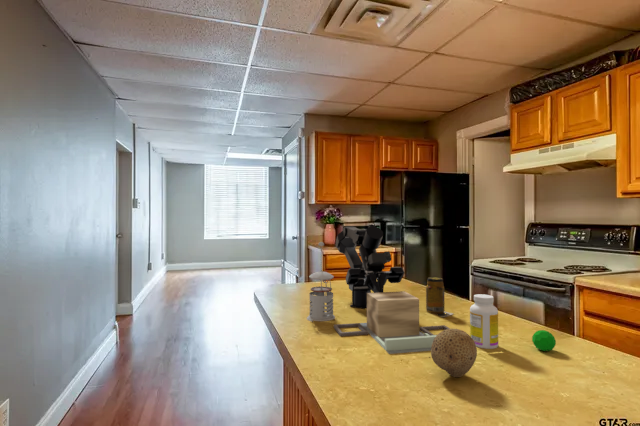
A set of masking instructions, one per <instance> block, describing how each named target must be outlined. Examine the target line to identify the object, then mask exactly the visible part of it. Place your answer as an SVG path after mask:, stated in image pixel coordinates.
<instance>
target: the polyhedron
mask: <svg viewBox="0 0 640 426" xmlns="http://www.w3.org/2000/svg"><path fill="white" fill-rule="evenodd" d="M531 339H532V340H531V341H532V343H533V345H534V346H535V348H536V349H538V350H539V351H543V352H550V351H552V350H553V349H554V348H555V346H556V344H557V340H556V338H555V336H554V335H553V334H552V332H549V331H547V330H544V329H540V330H536V331H535V332H534V333H533V335H532V337H531Z"/></svg>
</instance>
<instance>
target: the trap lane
mask: <svg viewBox="0 0 640 426" xmlns="http://www.w3.org/2000/svg"><path fill="white" fill-rule="evenodd" d="M345 328H347V329H348V328H358V329H359V330H356V331H342V330H341V329H345ZM333 329H334V330H335V332H336V333H337V334H338V335H339V337H349V336H363V335H364V336H366V335H368V334H369V336H370V337H371V338H372V339H374V340H375V342H376V343H377V344H378V345H379V346H380V347H381V348H383V350H385V351H386V353H387V354H388V355H390V354H391V355H393V354H405V353H407V354H408V353H416V352H417V353H420V352H431V346H432V343H433V340H434V338H435V337H436V336H437V335H438V334H435V333H432V332H431V331H436V330H437V331H438V330H443V331H444V330H446V329H451V328H450V327H448V326H447V325H446V324H443V325H442V324H441V325H428V326H426V325H425V326H419V335H406V336H392V337H377V336H376V335H375V334H374V333H373V332H372V331H371V330H370V329H369V328H368V327H367V322H355V323H338V324H333Z"/></svg>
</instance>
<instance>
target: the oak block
mask: <svg viewBox="0 0 640 426" xmlns="http://www.w3.org/2000/svg"><path fill="white" fill-rule="evenodd" d="M366 323H367V327H368V328H369V329H370V330H371V331H372V332H373V333H374V334H375V335H376V336H377V337H392V336H406V335H419V331H420V330H419V327H420V298H418V297H416V296H415V295H413V294H411V293H409V292H407V291H383V292H378V293H374V292H371V293H367V308H366Z"/></svg>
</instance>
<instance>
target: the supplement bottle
mask: <svg viewBox="0 0 640 426" xmlns="http://www.w3.org/2000/svg"><path fill="white" fill-rule="evenodd" d="M473 301H474V304H471V306H470V307H469V330H470V331H469V336H470V337H471V338H472V339H473V340H474V342H475V344H476V348H480V349H487V350H488V349H489V350H490V349H491V350H493V349H496V348H497V349H498V347H499V311H498V308H497V307H496V306H495V305H494V301H495V300H494V296H493V295H489V294H484V293H483V294H481V293H480V294H479V293H478V294H474V295H473Z"/></svg>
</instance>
